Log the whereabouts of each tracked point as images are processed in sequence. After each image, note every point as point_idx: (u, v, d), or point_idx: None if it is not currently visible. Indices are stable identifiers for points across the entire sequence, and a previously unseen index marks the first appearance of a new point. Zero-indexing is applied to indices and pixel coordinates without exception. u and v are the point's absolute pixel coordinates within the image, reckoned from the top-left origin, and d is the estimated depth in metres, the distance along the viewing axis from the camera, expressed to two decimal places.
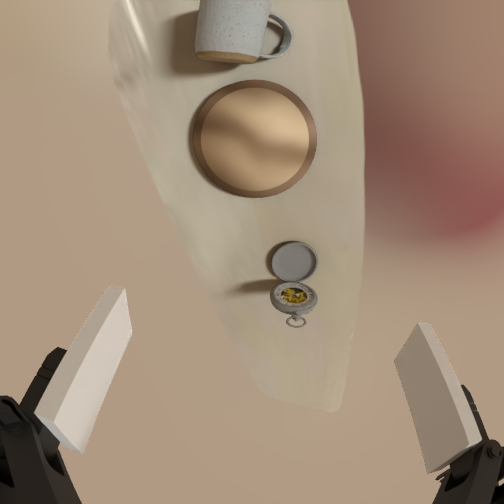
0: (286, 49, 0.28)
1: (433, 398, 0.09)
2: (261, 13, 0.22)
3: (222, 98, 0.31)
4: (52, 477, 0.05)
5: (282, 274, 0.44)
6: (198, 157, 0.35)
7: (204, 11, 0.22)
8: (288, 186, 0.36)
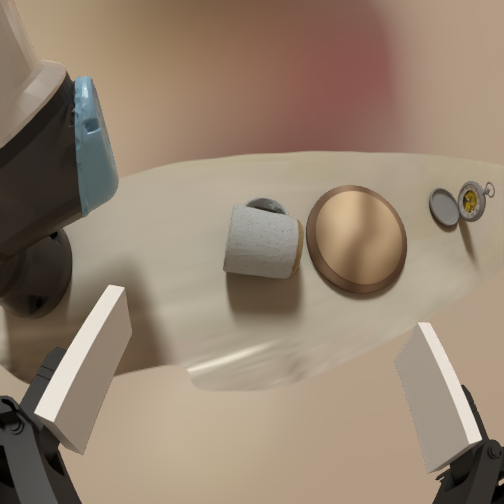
0: (277, 202, 0.37)
1: (433, 398, 0.09)
2: (252, 208, 0.32)
3: (327, 263, 0.36)
4: (52, 477, 0.05)
5: (454, 218, 0.40)
6: (379, 287, 0.36)
7: (249, 258, 0.30)
8: (393, 209, 0.39)
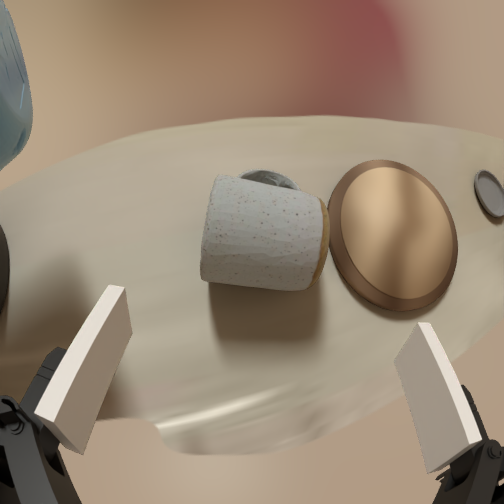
0: (283, 176, 0.25)
1: (433, 398, 0.09)
2: (246, 179, 0.20)
3: (359, 269, 0.24)
4: (52, 477, 0.05)
5: (502, 207, 0.28)
6: (428, 301, 0.23)
7: (242, 259, 0.18)
8: (437, 193, 0.26)
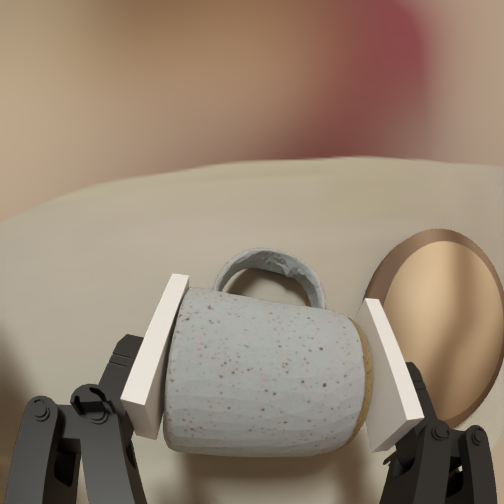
0: (296, 260, 0.16)
1: (376, 372, 0.10)
2: (235, 307, 0.11)
3: None
4: (129, 471, 0.06)
5: None
6: (467, 415, 0.15)
7: (230, 450, 0.09)
8: (493, 270, 0.18)
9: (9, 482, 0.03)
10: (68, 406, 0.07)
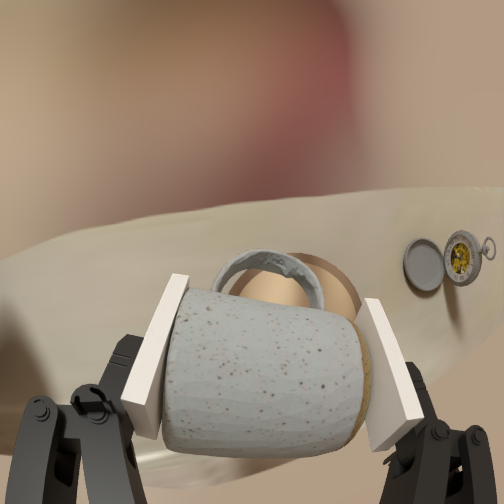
0: (295, 261, 0.16)
1: (376, 372, 0.10)
2: (234, 308, 0.11)
3: None
4: (130, 471, 0.06)
5: (438, 277, 0.32)
6: None
7: (229, 451, 0.09)
8: (347, 281, 0.30)
9: (9, 482, 0.03)
10: (68, 406, 0.07)
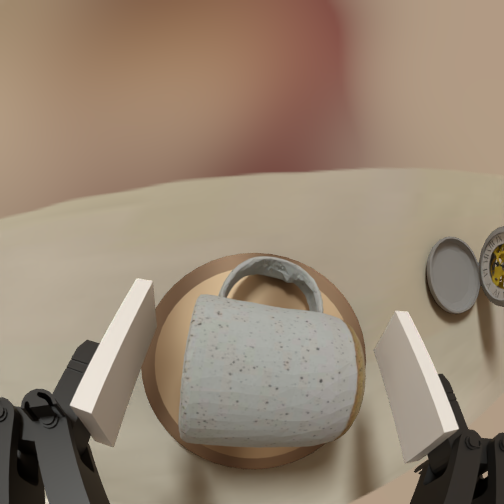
0: (295, 267, 0.18)
1: (409, 386, 0.10)
2: (241, 312, 0.13)
3: (176, 421, 0.16)
4: (84, 473, 0.05)
5: (471, 293, 0.21)
6: (288, 460, 0.16)
7: (238, 440, 0.11)
8: (342, 300, 0.19)
9: None
10: None
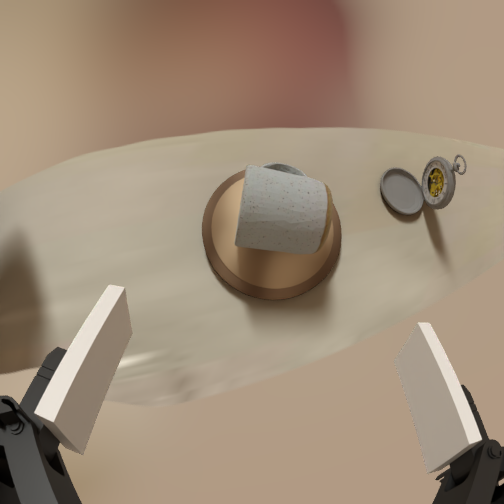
0: (295, 168, 0.31)
1: (433, 398, 0.09)
2: (269, 168, 0.26)
3: (222, 260, 0.30)
4: (52, 477, 0.05)
5: (417, 205, 0.34)
6: (296, 293, 0.29)
7: (269, 225, 0.24)
8: None
9: None
10: None
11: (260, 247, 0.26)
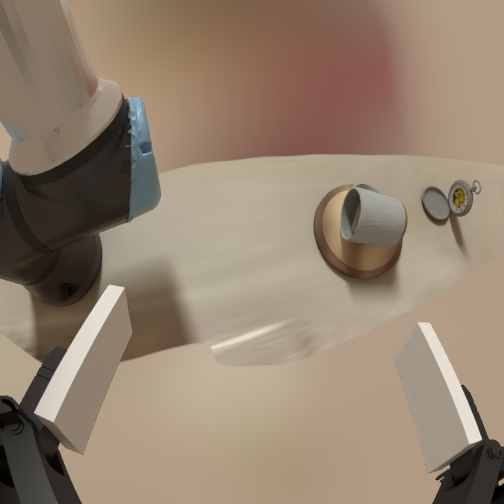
0: (373, 187, 0.43)
1: (433, 398, 0.09)
2: (368, 190, 0.38)
3: (332, 251, 0.41)
4: (52, 477, 0.05)
5: (445, 213, 0.46)
6: (378, 273, 0.41)
7: (375, 227, 0.36)
8: None
9: None
10: None
11: (364, 241, 0.38)
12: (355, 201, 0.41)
